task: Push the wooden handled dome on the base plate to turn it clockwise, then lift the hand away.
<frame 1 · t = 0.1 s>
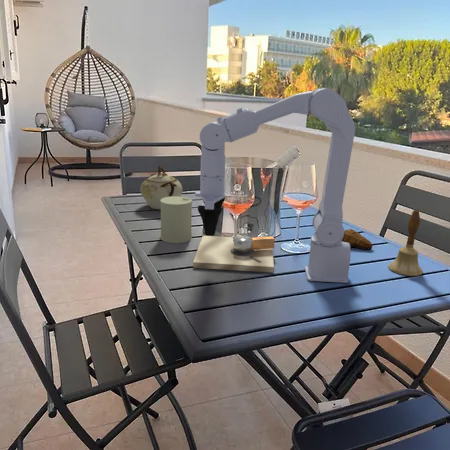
hand: (211, 230, 110), 10 cm above the table, tool pointing down, fingers open, 7 cm apart
croissant: (349, 245, 133), on the table
sugar bowl: (161, 207, 164), on the table
can: (176, 238, 133), on the table
hand bell: (405, 270, 116), on the table
wooden handled dome: (253, 243, 120), point 4 cm above the table, hinge at 0.0°
base plate: (235, 255, 122), on the table
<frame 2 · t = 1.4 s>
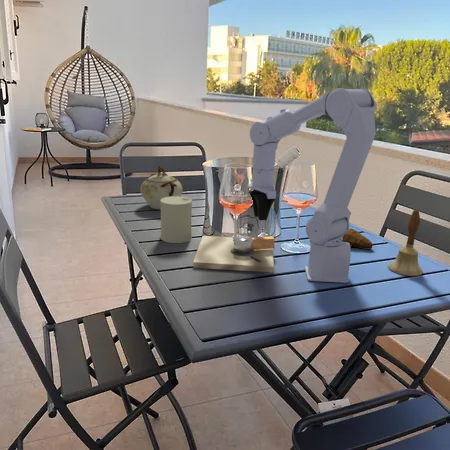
hand: (260, 218, 123), 9 cm above the table, tool pointing down, fingers open, 3 cm apart
nothing on the table moved.
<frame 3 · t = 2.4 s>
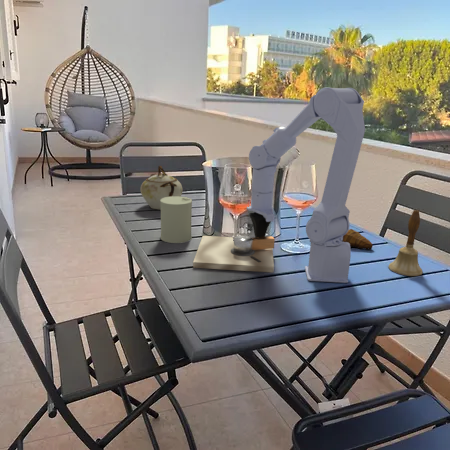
hand: (259, 239, 125), 3 cm above the table, tool pointing down, fingers closed
nothing on the table moved.
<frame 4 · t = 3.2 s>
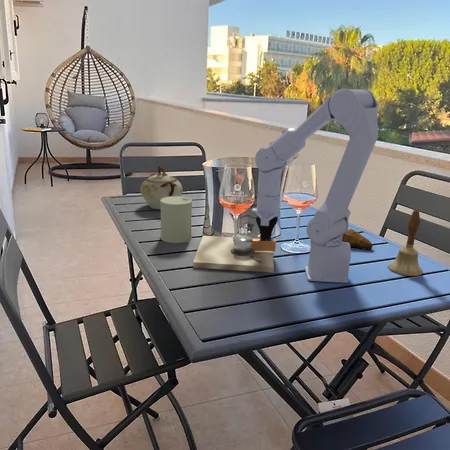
hand: (265, 243, 121), 4 cm above the table, tool pointing down, fingers closed, pressing on wooden handled dome
wooden handled dome: (254, 245, 120), point 4 cm above the table, hinge at 15.0°, touching gripper
everything else where it was.
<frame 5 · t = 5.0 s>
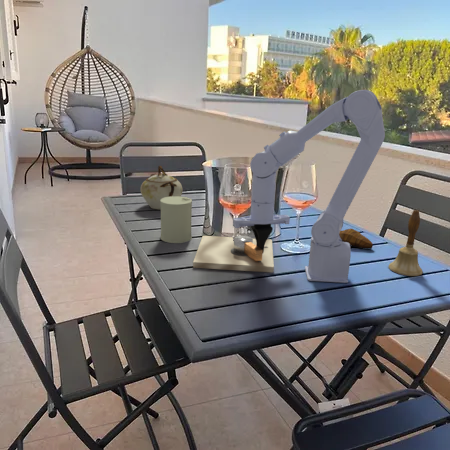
hand: (259, 252, 115), 3 cm above the table, tool pointing down, fingers closed, pressing on wooden handled dome
wooden handled dome: (248, 248, 117), point 4 cm above the table, hinge at 79.9°, touching gripper
everything else where it was.
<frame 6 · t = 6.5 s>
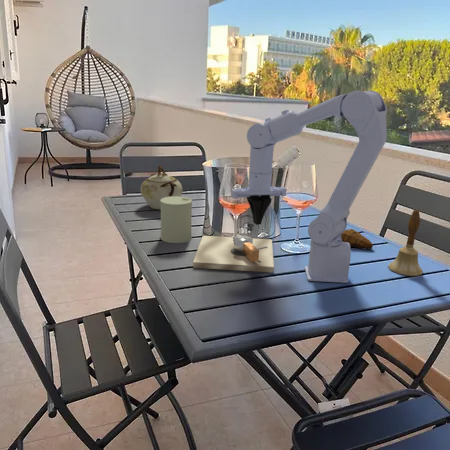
hand: (257, 223, 118), 10 cm above the table, tool pointing down, fingers closed
wooden handled dome: (247, 248, 117), point 4 cm above the table, hinge at 86.7°
everything else where it was.
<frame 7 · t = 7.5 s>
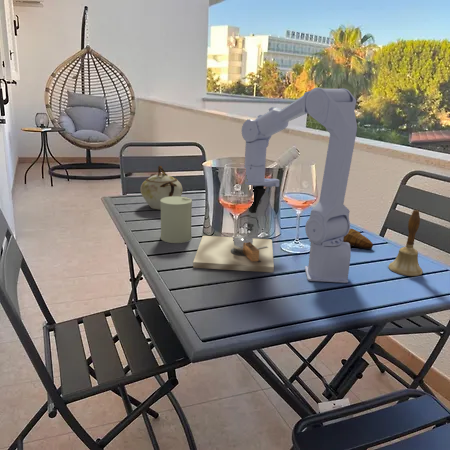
hand: (252, 212, 128), 9 cm above the table, tool pointing down, fingers closed
nothing on the table moved.
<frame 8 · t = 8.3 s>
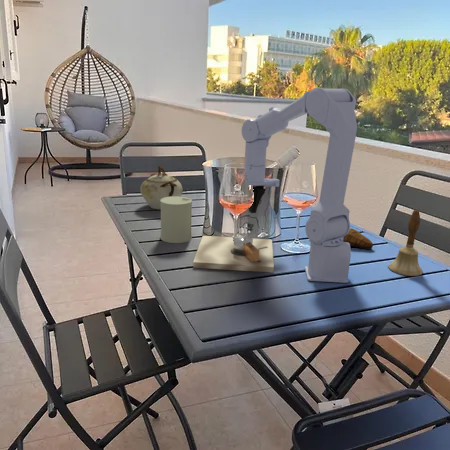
hand: (252, 212, 128), 9 cm above the table, tool pointing down, fingers closed
nothing on the table moved.
at the end: wooden handled dome at +87° (first picture: +0°); the gripper is holding nothing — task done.
